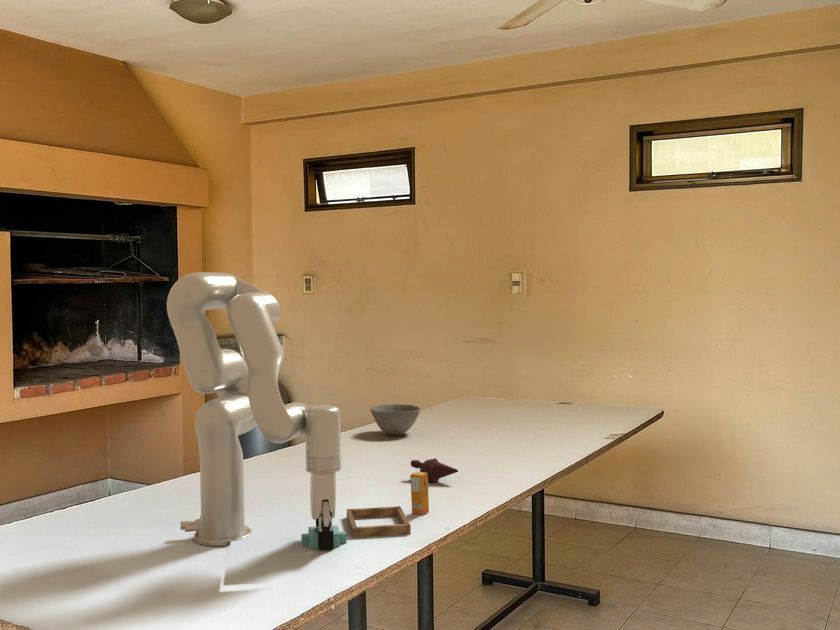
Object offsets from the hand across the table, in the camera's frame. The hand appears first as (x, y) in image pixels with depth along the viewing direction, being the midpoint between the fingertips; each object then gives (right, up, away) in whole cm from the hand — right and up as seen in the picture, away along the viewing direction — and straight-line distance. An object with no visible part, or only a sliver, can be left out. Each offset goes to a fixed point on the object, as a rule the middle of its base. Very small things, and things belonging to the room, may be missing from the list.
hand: (324, 542), depth 173 cm
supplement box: (+21, 0, +25) cm, 33 cm away
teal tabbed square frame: (0, 0, 0) cm, 0 cm away
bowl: (+12, +5, +124) cm, 125 cm away
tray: (+11, -1, +12) cm, 16 cm away
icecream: (+25, +1, +56) cm, 61 cm away
